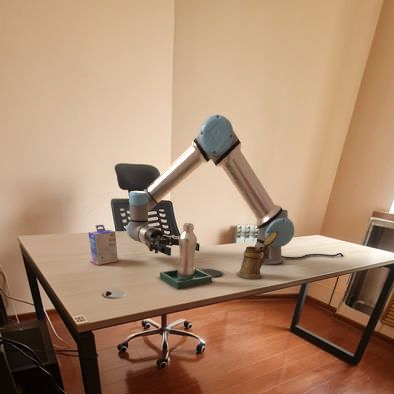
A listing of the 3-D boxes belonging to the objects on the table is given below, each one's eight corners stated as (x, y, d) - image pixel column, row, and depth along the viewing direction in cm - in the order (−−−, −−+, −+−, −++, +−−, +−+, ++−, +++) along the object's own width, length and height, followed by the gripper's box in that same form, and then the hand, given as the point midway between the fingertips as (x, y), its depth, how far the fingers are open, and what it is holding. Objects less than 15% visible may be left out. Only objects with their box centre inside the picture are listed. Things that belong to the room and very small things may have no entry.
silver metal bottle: (176, 276, 119) (178, 221, 108) (193, 276, 120) (197, 222, 109) (177, 281, 114) (179, 225, 103) (195, 282, 114) (198, 226, 104)
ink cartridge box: (111, 258, 134) (108, 223, 126) (118, 261, 131) (116, 225, 123) (91, 262, 128) (86, 225, 120) (98, 265, 125) (94, 228, 117)
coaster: (212, 268, 131) (212, 268, 131) (226, 275, 125) (226, 274, 125) (195, 271, 126) (195, 270, 126) (208, 278, 120) (209, 277, 120)
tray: (192, 272, 125) (192, 266, 124) (211, 282, 117) (212, 276, 116) (159, 278, 117) (159, 272, 116) (177, 289, 109) (177, 282, 107)
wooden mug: (273, 279, 125) (283, 233, 115) (242, 279, 122) (249, 232, 113) (265, 272, 132) (273, 228, 122) (235, 271, 130) (242, 227, 120)
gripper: (176, 243, 134) (208, 255, 121) (126, 250, 119) (156, 264, 106) (176, 225, 130) (210, 235, 117) (124, 230, 115) (156, 242, 102)
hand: (185, 249), depth 112 cm, fingers open, 13 cm apart
